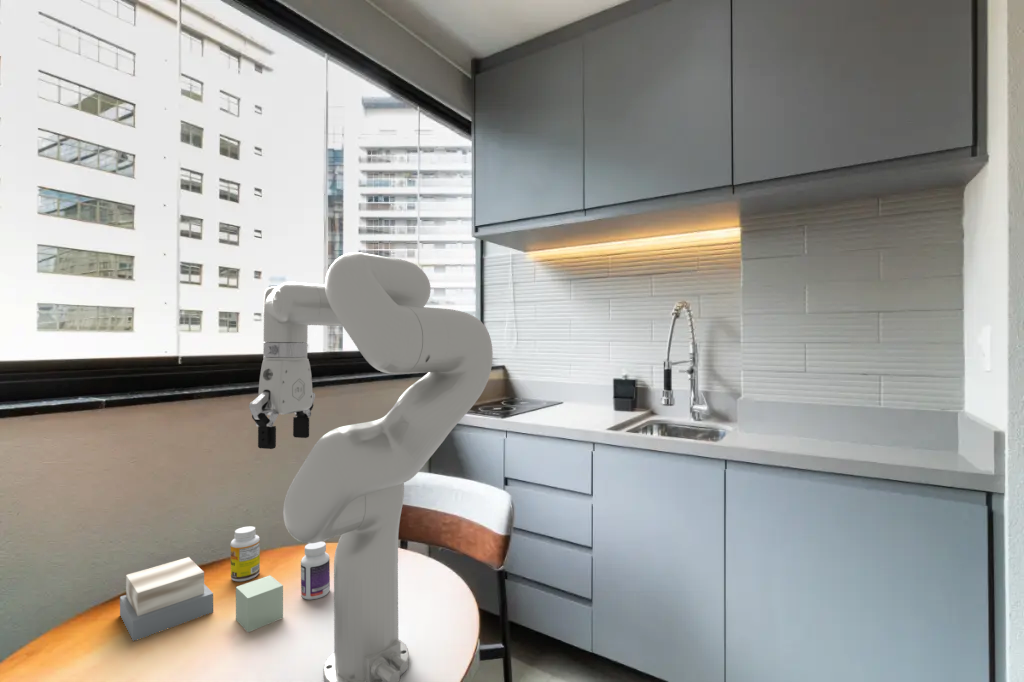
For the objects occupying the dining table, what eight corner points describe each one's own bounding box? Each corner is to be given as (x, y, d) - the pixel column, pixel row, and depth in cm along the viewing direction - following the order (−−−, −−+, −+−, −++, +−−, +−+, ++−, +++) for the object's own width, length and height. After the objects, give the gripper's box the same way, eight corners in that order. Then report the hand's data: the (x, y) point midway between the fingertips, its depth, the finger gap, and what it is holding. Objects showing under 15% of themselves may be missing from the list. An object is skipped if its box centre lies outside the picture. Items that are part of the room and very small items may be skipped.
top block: (204, 593, 90) (204, 572, 90) (137, 616, 82) (137, 593, 82) (188, 576, 96) (188, 556, 96) (126, 596, 89) (126, 574, 89)
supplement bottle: (231, 574, 105) (231, 527, 105) (259, 568, 107) (259, 523, 108) (229, 585, 100) (229, 536, 100) (259, 578, 103) (259, 531, 103)
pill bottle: (334, 587, 99) (334, 540, 99) (321, 601, 93) (321, 551, 93) (309, 586, 99) (309, 539, 99) (295, 599, 94) (295, 550, 94)
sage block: (283, 618, 88) (283, 585, 88) (247, 632, 83) (247, 598, 83) (270, 606, 92) (270, 575, 92) (235, 619, 87) (235, 586, 87)
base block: (213, 614, 90) (213, 593, 90) (133, 644, 81) (133, 621, 81) (194, 593, 98) (194, 573, 98) (120, 618, 89) (119, 596, 89)
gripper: (271, 353, 81) (270, 454, 81) (329, 351, 98) (328, 434, 98) (233, 353, 82) (232, 451, 82) (297, 351, 99) (296, 433, 99)
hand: (284, 442), depth 90 cm, fingers open, 9 cm apart
